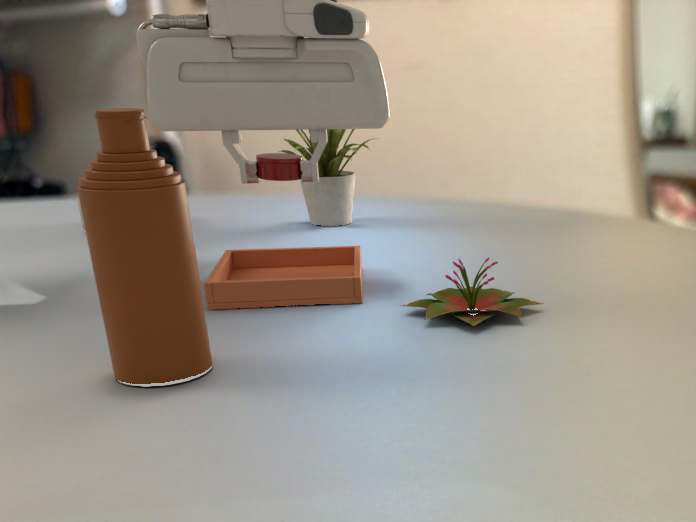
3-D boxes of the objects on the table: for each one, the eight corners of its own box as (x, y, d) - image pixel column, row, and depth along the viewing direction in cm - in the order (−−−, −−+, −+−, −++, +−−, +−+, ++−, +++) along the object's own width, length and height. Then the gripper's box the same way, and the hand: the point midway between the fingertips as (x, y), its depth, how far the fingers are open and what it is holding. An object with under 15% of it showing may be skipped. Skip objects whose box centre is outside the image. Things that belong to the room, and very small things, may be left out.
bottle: (104, 390, 57) (47, 113, 50) (126, 359, 62) (78, 106, 56) (205, 384, 58) (163, 113, 51) (218, 353, 64) (182, 106, 57)
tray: (207, 310, 74) (203, 283, 73) (229, 273, 86) (225, 249, 85) (362, 303, 76) (360, 277, 75) (362, 268, 88) (360, 245, 87)
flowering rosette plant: (374, 313, 73) (370, 261, 71) (470, 286, 82) (469, 239, 80) (474, 343, 66) (473, 286, 64) (569, 310, 75) (570, 259, 73)
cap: (247, 176, 77) (246, 154, 76) (284, 172, 80) (283, 152, 79) (276, 182, 75) (275, 160, 74) (313, 178, 78) (312, 157, 77)
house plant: (418, 220, 113) (412, 89, 106) (345, 238, 102) (334, 93, 96) (338, 209, 120) (327, 86, 113) (262, 225, 109) (246, 89, 102)
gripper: (122, 12, 67) (152, 190, 73) (384, 15, 71) (394, 184, 76) (140, 14, 73) (167, 179, 78) (382, 17, 77) (392, 174, 82)
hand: (281, 182), depth 77 cm, fingers closed on cap, 4 cm apart
